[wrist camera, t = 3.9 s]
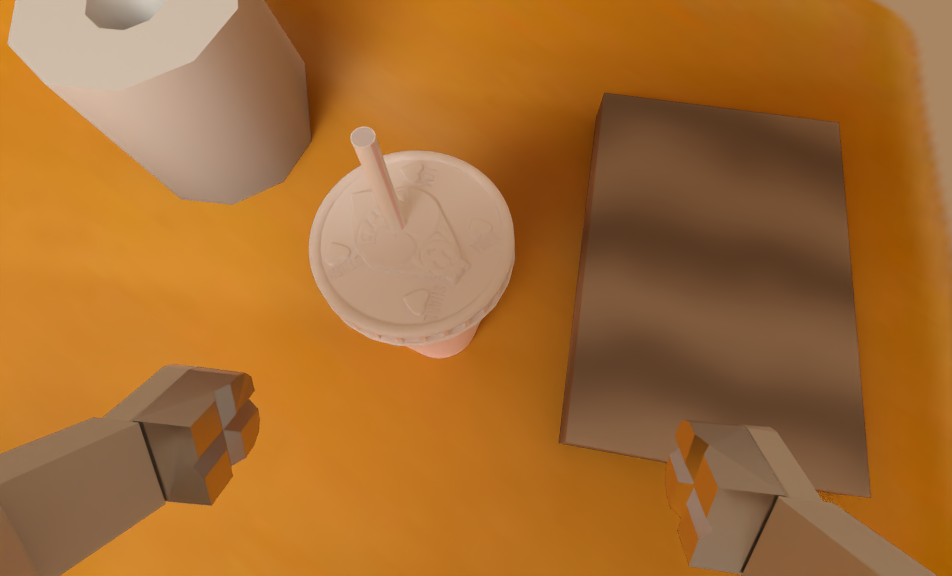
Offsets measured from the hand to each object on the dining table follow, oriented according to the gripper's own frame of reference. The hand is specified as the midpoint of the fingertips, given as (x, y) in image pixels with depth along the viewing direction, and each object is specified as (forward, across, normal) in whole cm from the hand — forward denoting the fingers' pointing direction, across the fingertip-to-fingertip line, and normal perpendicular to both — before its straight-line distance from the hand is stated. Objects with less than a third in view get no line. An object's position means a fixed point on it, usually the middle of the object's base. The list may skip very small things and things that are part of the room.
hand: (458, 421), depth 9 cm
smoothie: (+13, +2, +6) cm, 15 cm away
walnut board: (+16, -10, +3) cm, 19 cm away
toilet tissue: (+21, +16, -2) cm, 27 cm away
